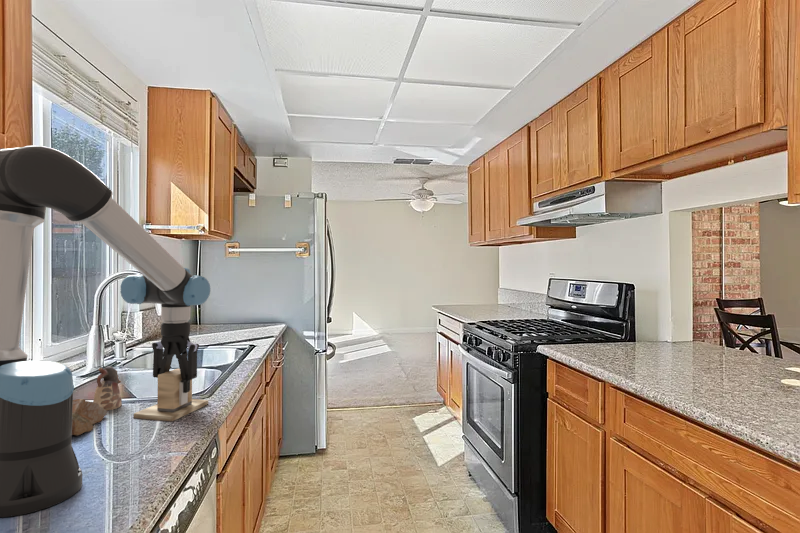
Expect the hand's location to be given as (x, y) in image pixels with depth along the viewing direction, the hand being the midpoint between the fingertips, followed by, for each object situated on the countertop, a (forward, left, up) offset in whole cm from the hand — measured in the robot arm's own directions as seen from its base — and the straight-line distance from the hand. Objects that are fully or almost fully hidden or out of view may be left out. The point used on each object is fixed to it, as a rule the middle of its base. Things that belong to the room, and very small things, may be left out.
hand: (174, 402), depth 130 cm
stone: (-16, +16, -3) cm, 23 cm away
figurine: (0, +22, -3) cm, 22 cm away
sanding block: (0, 0, -1) cm, 1 cm away
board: (+1, +1, -3) cm, 3 cm away
